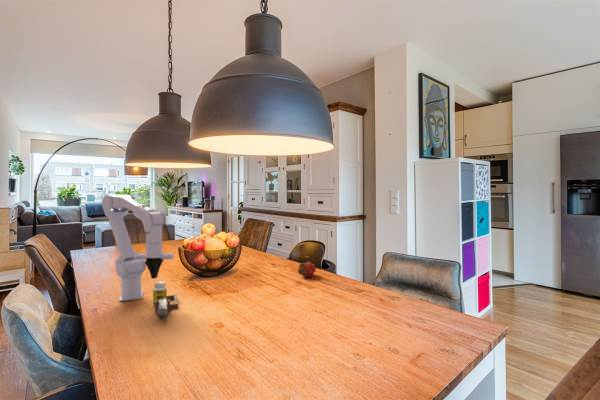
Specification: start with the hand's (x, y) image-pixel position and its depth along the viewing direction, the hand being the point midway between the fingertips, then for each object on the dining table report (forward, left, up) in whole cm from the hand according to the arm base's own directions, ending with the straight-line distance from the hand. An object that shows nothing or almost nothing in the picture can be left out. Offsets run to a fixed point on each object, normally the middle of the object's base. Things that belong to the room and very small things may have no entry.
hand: (154, 277), depth 118 cm
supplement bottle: (+1, +2, -10) cm, 11 cm away
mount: (+4, +4, -10) cm, 12 cm away
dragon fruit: (-11, +71, -10) cm, 73 cm away
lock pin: (+15, +3, -9) cm, 17 cm away
